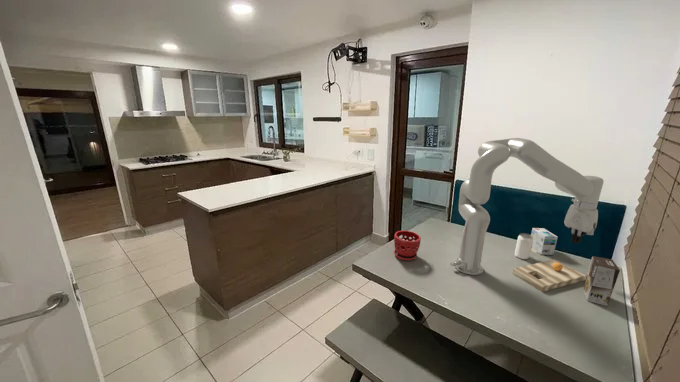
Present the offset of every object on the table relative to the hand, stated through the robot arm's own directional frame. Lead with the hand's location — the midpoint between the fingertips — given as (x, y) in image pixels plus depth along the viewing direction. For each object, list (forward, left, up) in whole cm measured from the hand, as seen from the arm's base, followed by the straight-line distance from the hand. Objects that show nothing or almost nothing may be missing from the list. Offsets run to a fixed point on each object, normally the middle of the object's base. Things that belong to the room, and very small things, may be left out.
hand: (575, 242), depth 122 cm
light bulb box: (+9, +19, -16) cm, 26 cm away
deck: (-12, 0, -16) cm, 20 cm away
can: (-7, +17, -16) cm, 24 cm away
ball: (-7, 0, -11) cm, 13 cm away
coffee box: (-8, -16, -16) cm, 24 cm away
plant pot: (-64, +36, -16) cm, 76 cm away
